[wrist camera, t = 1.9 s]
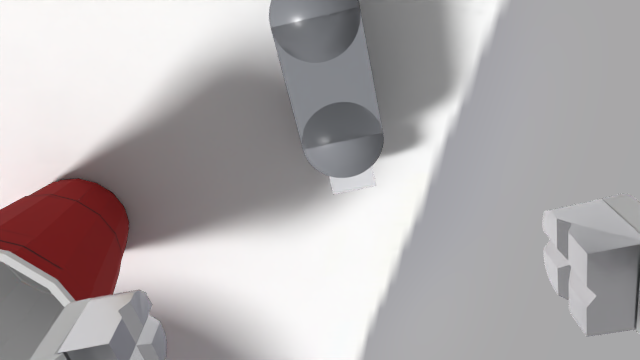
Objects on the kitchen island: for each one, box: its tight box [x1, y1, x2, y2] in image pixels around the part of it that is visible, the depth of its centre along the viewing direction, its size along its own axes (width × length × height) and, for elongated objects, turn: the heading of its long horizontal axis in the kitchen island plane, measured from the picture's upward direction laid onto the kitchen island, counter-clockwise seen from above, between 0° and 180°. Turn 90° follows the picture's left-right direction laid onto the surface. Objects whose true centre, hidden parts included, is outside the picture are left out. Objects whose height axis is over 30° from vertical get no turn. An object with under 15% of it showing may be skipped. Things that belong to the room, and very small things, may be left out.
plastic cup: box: [0, 178, 129, 360], centre depth 26 cm, size 11×11×12 cm
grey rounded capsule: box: [269, 0, 384, 195], centre depth 26 cm, size 4×12×4 cm, turn 13°
